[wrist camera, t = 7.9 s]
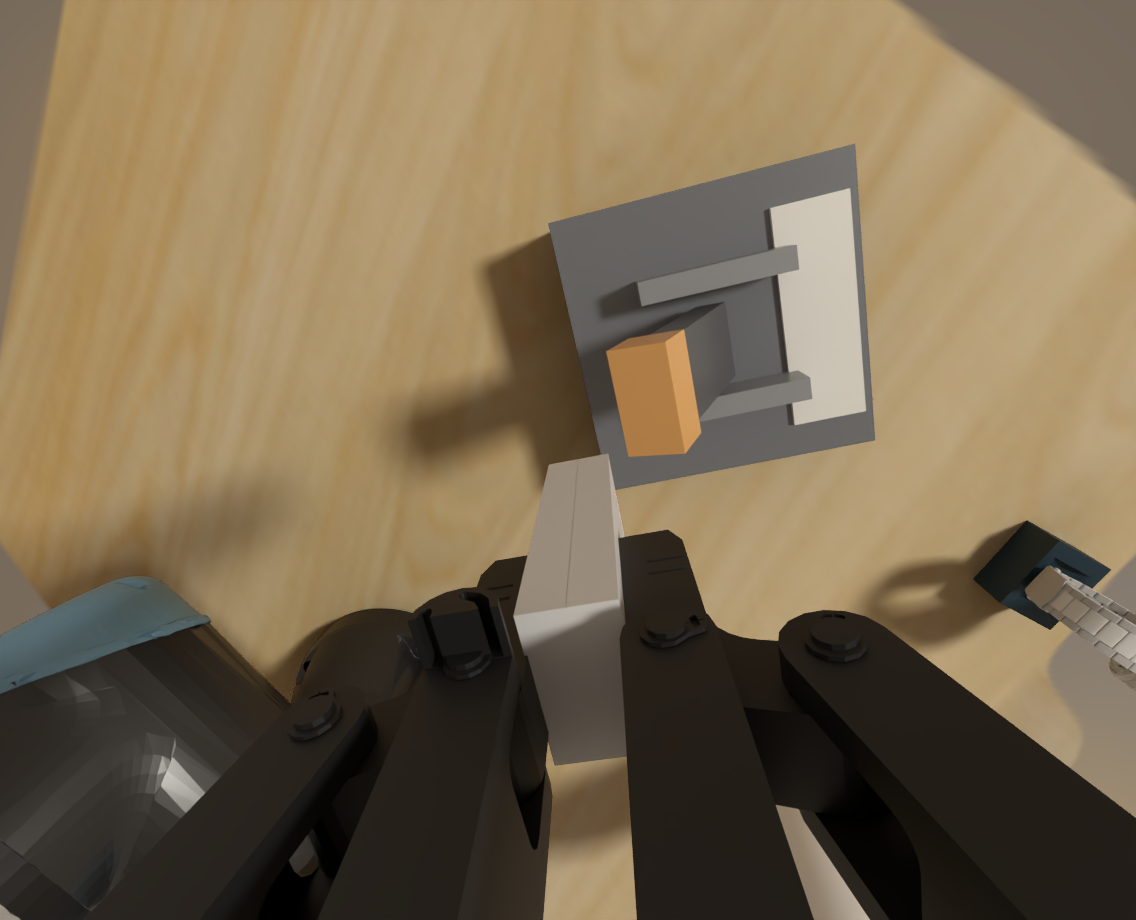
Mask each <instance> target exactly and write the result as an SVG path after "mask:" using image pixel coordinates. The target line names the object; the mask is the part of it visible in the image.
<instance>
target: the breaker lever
mask: <svg viewBox="0 0 1136 920" xmlns="http://www.w3.org/2000/svg"><path fill="white" fill-rule="evenodd" d="M606 353H607V357H608V362H609V367H610V371H611V376H612V381H613V386H614V390H615V395H616V400H617V405H618V409H619V414H620V419H621V423H622V428H623V433H624V438H625V442H626V447H627V452H628V457H635V456H653V455H672V454H685V453H686V452H687V451H688V449H689V448H690V447H691V446H692V444H693V443H694V442H695V440H696V439H697V438H698V436H699V435H700V434H701V428H700V422H699V419H700V418H701V417H702V415H703V414H704V413H705V412H706V410H707V409H708V408H709V407H710V406H711V404H712V403H713V402H714V401H715V399H716V398H717V397H718V396H719V395H720V393H721V392H722V391H723V390H724V388H725V387H726V386H727V385H728V383H729V382H730V381H731V380H732V379H733V377H734V376H735V368H734V361H733V354H732V347H731V340H730V333H729V326H728V319H727V312H726V305H725V302H720V303H714V304H709V305H703V306H698V307H695V308H693V309H691V310H690V311H688V312H686V313H685V314H683V315H681V316H680V317H678V318H677V319H675V320H673V321H672V322H670V323H668V324H667V325H665V326H663V327H662V328H660V329H658V330H657V331H655V332H654V333H652V334H650V335H646V336H640V337H634V338H629V339H627V340H625V341H623V342H622V343H620V344H618V345H616V346H615V347H613V348H611V349H609V350H608V351H606Z"/></svg>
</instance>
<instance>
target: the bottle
mask: <svg viewBox="0 0 1136 920" xmlns="http://www.w3.org/2000/svg"><path fill="white" fill-rule="evenodd" d="M776 807H777V810H778V813H779V816H780V819H781V822H782V825H783V828H784V831H785V834H786V837H787V840H788V843H789V846H790V849H791V852H792V855H793V858H794V861H795V864H796V867H797V870H798V873H799V876H800V879H801V882H802V885H803V888H804V891H805V894H806V897H807V900H808V903H809V906H810V909H811V912H812V915H813V918H814V920H870V919H869V918H868V916H867V915H866V913H865V912H864V910H863V909H862V907H861V906H860V904H859V903H858V901H857V900H856V898H855V897H854V895H853V894H852V892H851V891H850V889H849V888H848V886H847V885H846V883H845V882H844V880H843V879H842V877H841V876H840V874H839V873H838V871H837V870H836V868H835V867H834V865H833V864H832V862H831V861H830V859H829V858H828V856H827V855H826V853H825V852H824V850H823V849H822V847H821V846H820V844H819V843H818V841H817V840H816V838H815V837H814V835H813V834H812V832H811V831H810V829H809V828H808V826H807V825H806V823H805V822H804V820H803V818H802V816H801V813H800V811H799V809H796V808H790V807H785V806H779V805H776Z"/></svg>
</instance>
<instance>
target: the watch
mask: <svg viewBox="0 0 1136 920" xmlns="http://www.w3.org/2000/svg"><path fill="white" fill-rule="evenodd" d="M1110 570H1111V569H1109V568H1108V567H1106V566H1104V565H1103V564H1101V563H1100V562H1098V561H1096V560H1095V559H1093V558H1092V557H1090V556H1088V555H1087V554H1085V553H1083V552H1082V551H1080V550H1079V549H1077V548H1075V547H1073V546H1072V545H1070V544H1068V543H1066V542H1065V541H1063V540H1061V539H1059V538H1057V537H1056V536H1054V535H1052V534H1050V533H1049V532H1047V531H1045V530H1043V529H1041V528H1040V527H1038V526H1036V525H1034V524H1033V523H1031V522H1029V521H1026V522H1025V523H1024V524H1023V525H1022V527H1021V528H1020V529H1019V530H1018V531H1017V532H1016V533H1015V534H1014V535H1013V536H1012V537H1011V539H1010V540H1009V541H1008V542H1007V543H1006V544H1005V545H1004V546H1003V547H1002V548H1001V549H1000V551H999V552H998V553H997V554H996V555H995V556H994V557H993V558H992V559H991V560H990V561H989V563H988V564H987V565H986V566H985V567H984V568H983V569H982V570H981V571H980V572H979V573H978V574H977V576H976V577H975V578H974V580H975V581H976V582H977V583H978V584H979V585H980V586H982V587H983V588H984V589H985V590H986V591H987V592H988V593H990V594H991V595H992V596H993V597H994V598H995V599H996V600H998V601H999V602H1000V603H1001V604H1003V605H1005V606H1007V607H1009V608H1011V609H1012V610H1014V611H1016V612H1018V613H1020V614H1022V615H1024V616H1025V617H1027V618H1029V619H1031V620H1033V621H1035V622H1037V623H1038V624H1040V625H1042V626H1044V627H1046V628H1048V629H1049V630H1051V629H1052V628H1053V627H1054V626H1055V625H1056V624H1057V623H1058V622H1059V621H1060V622H1062V623H1063V624H1064V625H1066V626H1067V627H1068V628H1070V629H1071V630H1072V631H1074V632H1075V633H1077V632H1078V631H1079V630H1080V629H1081V628H1083V629H1081V630H1080V631H1079V632H1078V633H1077V634H1078V635H1079V636H1081V637H1082V638H1083V639H1085V640H1086V641H1087V642H1089V643H1090V644H1092V645H1094V647H1096V648H1097V649H1098V650H1100V651H1101V652H1103V653H1104V654H1106V655H1107V656H1108V657H1110V662H1109V667H1110V670H1111V672H1112V673H1113V675H1114V676H1116V677H1117V678H1118V679H1120V680H1121V681H1123V682H1124V683H1126V684H1127V685H1128V686H1129V687H1130V688H1131V689H1133V690H1135V691H1136V615H1135V614H1133V613H1132V612H1130V611H1129V610H1127V609H1126V608H1124V607H1122V606H1120V605H1119V604H1117V603H1115V602H1113V601H1112V600H1111V599H1109V598H1107V597H1105V596H1104V595H1102V594H1100V593H1098V592H1097V591H1095V590H1093V589H1092V588H1093V587H1094V586H1095V585H1096V584H1097V583H1098V582H1099V581H1100V580H1101V579H1102V578H1103V577H1104V576H1105V575H1106V574H1107V573H1108V572H1109V571H1110ZM1112 602H1113V603H1112ZM1101 603H1102V604H1101ZM1110 603H1112V604H1111V605H1110V606H1109V607H1108V605H1109V604H1110ZM1100 604H1101V605H1100ZM1118 613H1119V614H1118ZM1127 613H1128V614H1127ZM1117 614H1118V615H1117ZM1126 614H1127V615H1126ZM1125 615H1126V616H1125ZM1124 616H1125V617H1124ZM1076 623H1077V624H1076ZM1096 633H1097V634H1096ZM1095 634H1096V635H1095ZM1093 635H1095V636H1093ZM1099 640H1100V641H1099Z"/></svg>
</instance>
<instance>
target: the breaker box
mask: <svg viewBox="0 0 1136 920" xmlns="http://www.w3.org/2000/svg"><path fill="white" fill-rule="evenodd" d="M548 225H549V229H550V233H551V238H552V242H553V247H554V251H555V255H556V260H557V264H558V269H559V273H560V277H561V282H562V286H563V291H564V295H565V299H566V304H567V308H568V313H569V317H570V321H571V326H572V330H573V335H574V339H575V343H576V348H577V352H578V356H579V361H580V365H581V370H582V374H583V378H584V383H585V387H586V392H587V396H588V400H589V405H590V409H591V414H592V418H593V422H594V427H595V431H596V436H597V440H598V444H599V449H600V453H601V455H603V454H608V456H609V461H610V466H611V471H612V476H613V481H614V486H615V490H617V489H623V488H628V487H633V486H638V485H644V484H649V483H654V482H659V481H665V480H670V479H675V478H680V477H685V476H691V475H696V474H701V473H706V472H712V471H717V470H722V469H727V468H733V467H738V466H743V465H748V464H754V463H759V462H764V461H769V460H774V459H780V458H785V457H790V456H795V455H801V454H806V453H811V452H816V451H822V450H827V449H832V448H837V447H843V446H848V445H853V444H858V443H863V442H869V441H874V440H875V432H874V417H873V402H872V388H871V373H870V358H869V343H868V328H867V313H866V299H865V284H864V269H863V254H862V239H861V225H860V210H859V195H858V180H857V165H856V150H855V144H852V145H848V146H845V147H841V148H837V149H833V150H829V151H825V152H821V153H818V154H814V155H810V156H806V157H802V158H798V159H795V160H791V161H787V162H783V163H779V164H775V165H771V166H768V167H764V168H760V169H756V170H752V171H748V172H745V173H741V174H737V175H733V176H729V177H725V178H721V179H718V180H714V181H710V182H706V183H702V184H698V185H695V186H691V187H687V188H683V189H679V190H675V191H671V192H668V193H664V194H660V195H656V196H652V197H648V198H645V199H641V200H637V201H633V202H629V203H625V204H621V205H618V206H614V207H610V208H606V209H602V210H598V211H595V212H591V213H587V214H583V215H579V216H575V217H571V218H568V219H564V220H560V221H556V222H552V223H548ZM720 302H725V305H726V312H727V319H728V326H729V333H730V340H731V347H732V354H733V361H734V368H735V376H734V377H733V379H732V380H731V381H730V382H729V383H728V385H727V386H726V387H725V388H724V390H723V391H722V392H721V393H720V395H719V396H718V397H717V398H716V399H715V401H714V402H713V403H712V404H711V406H710V407H709V408H708V409H707V410H706V412H705V413H704V414H703V415H702V417H701V418H700V419H699V422H700V428H701V434H700V435H699V436H698V438H697V439H696V440H695V442H694V443H693V444H692V446H691V447H690V448H689V449H688V451H687V452H686V453H685V454H672V455H653V456H635V457H628V452H627V447H626V442H625V438H624V433H623V428H622V423H621V419H620V414H619V409H618V405H617V400H616V395H615V390H614V386H613V381H612V376H611V371H610V367H609V362H608V357H607V353H606V351H608V350H609V349H611V348H613V347H615V346H616V345H618V344H620V343H622V342H623V341H625V340H627V339H629V338H634V337H640V336H646V335H650V334H652V333H654V332H655V331H657V330H658V329H660V328H662V327H663V326H665V325H667V324H668V323H670V322H672V321H673V320H675V319H677V318H678V317H680V316H681V315H683V314H685V313H686V312H688V311H690V310H691V309H693V308H695V307H698V306H703V305H709V304H714V303H720Z"/></svg>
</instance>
